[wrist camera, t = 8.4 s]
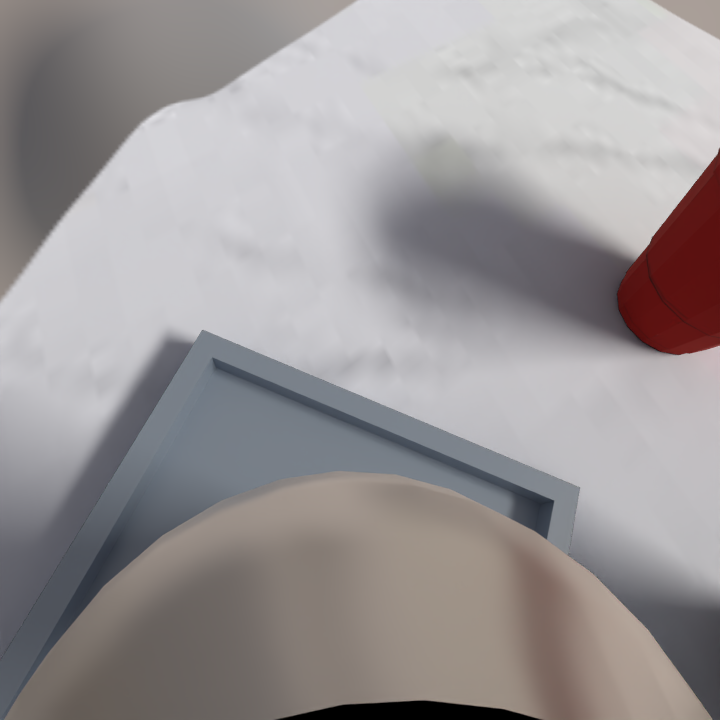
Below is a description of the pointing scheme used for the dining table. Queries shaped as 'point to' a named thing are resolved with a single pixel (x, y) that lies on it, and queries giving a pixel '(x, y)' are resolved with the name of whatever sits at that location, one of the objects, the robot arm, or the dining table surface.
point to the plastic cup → (679, 275)
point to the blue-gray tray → (260, 473)
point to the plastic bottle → (355, 619)
